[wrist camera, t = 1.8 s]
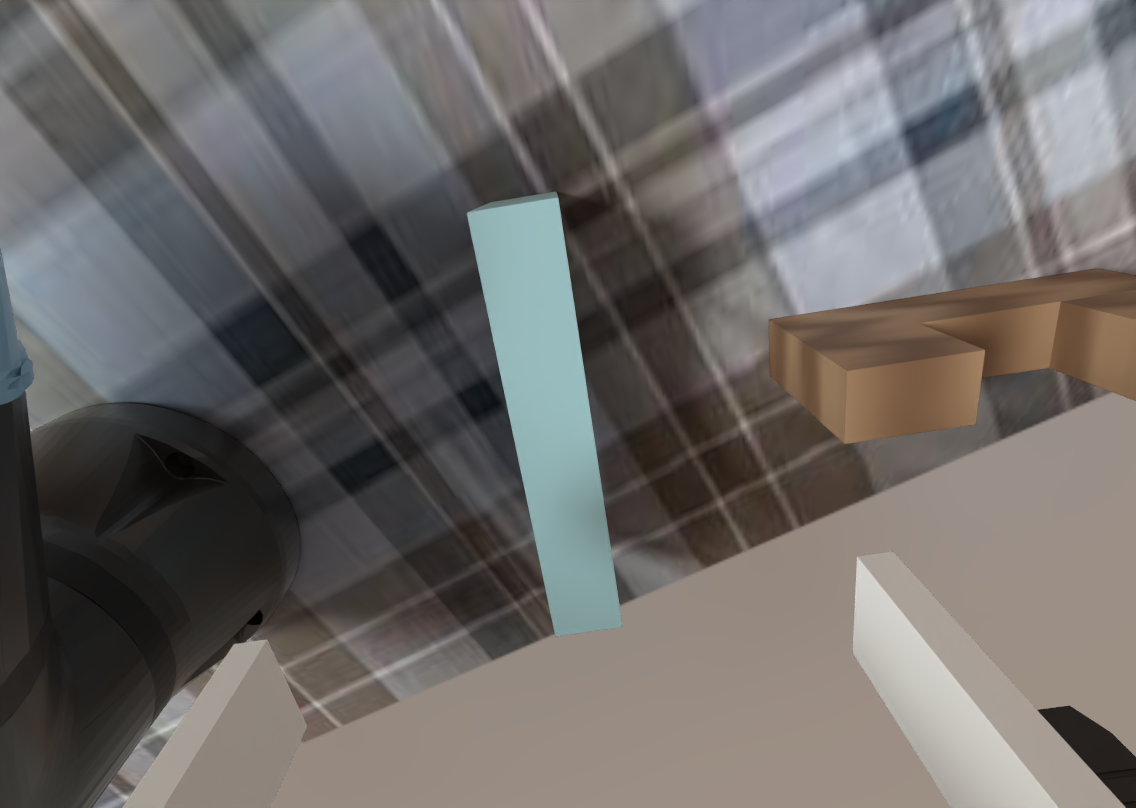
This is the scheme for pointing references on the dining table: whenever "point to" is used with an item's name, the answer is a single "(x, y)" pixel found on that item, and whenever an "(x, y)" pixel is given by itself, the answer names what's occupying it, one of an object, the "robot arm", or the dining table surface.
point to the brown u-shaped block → (953, 350)
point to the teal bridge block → (548, 404)
